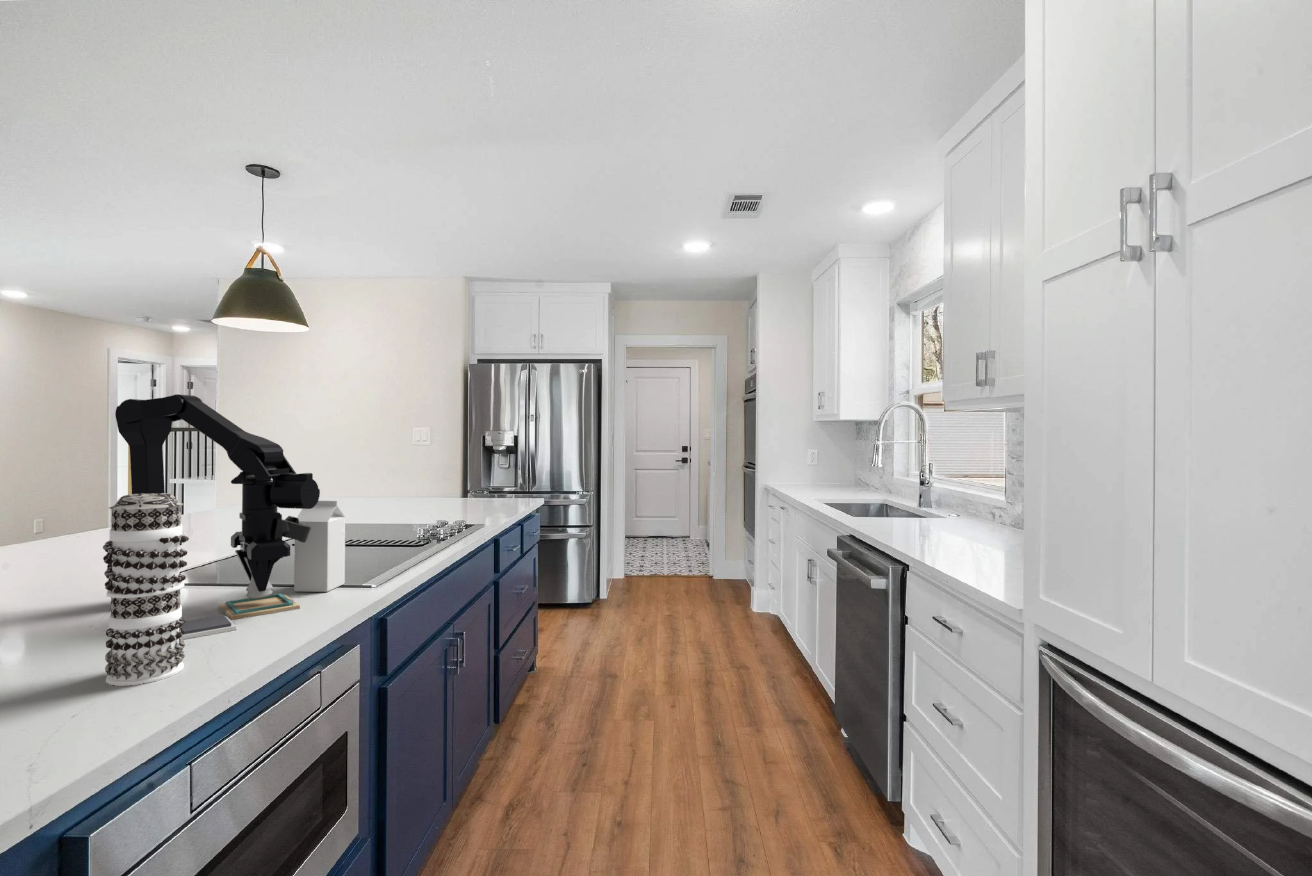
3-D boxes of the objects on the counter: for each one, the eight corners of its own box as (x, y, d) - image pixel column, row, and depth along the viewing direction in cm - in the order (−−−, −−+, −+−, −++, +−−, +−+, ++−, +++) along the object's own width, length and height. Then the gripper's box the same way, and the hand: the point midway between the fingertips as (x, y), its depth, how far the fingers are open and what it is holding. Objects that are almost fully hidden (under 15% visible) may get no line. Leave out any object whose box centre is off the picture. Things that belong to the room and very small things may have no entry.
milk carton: (327, 592, 129) (327, 502, 129) (293, 592, 130) (294, 502, 129) (344, 584, 137) (345, 499, 136) (313, 583, 137) (314, 498, 137)
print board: (219, 607, 118) (219, 601, 118) (284, 596, 126) (284, 591, 126) (231, 619, 110) (231, 613, 110) (299, 608, 118) (299, 602, 118)
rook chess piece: (259, 599, 115) (260, 556, 115) (239, 597, 116) (239, 555, 116) (278, 593, 120) (279, 552, 120) (259, 591, 121) (259, 551, 121)
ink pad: (170, 628, 105) (170, 622, 105) (226, 619, 110) (226, 613, 110) (177, 640, 99) (177, 633, 99) (236, 629, 105) (236, 623, 105)
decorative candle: (177, 656, 92) (178, 490, 92) (196, 672, 86) (197, 494, 86) (96, 674, 85) (97, 494, 85) (110, 693, 79) (111, 499, 79)
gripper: (321, 509, 117) (320, 591, 117) (293, 500, 130) (292, 574, 130) (252, 514, 109) (251, 601, 109) (230, 504, 122) (229, 582, 122)
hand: (259, 588), depth 118 cm, fingers closed on rook chess piece, 4 cm apart
